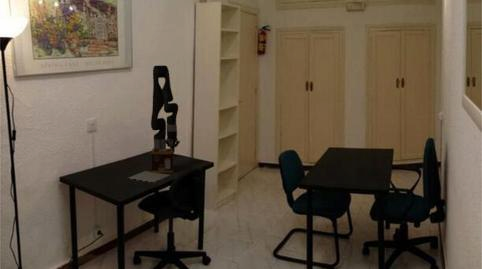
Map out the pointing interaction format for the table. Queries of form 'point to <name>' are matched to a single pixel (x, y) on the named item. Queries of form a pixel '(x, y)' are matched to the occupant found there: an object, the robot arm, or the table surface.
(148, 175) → the mat
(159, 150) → the supplement box
